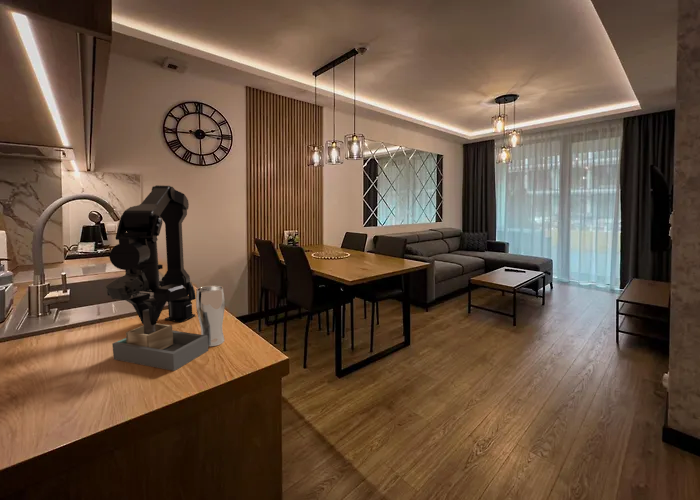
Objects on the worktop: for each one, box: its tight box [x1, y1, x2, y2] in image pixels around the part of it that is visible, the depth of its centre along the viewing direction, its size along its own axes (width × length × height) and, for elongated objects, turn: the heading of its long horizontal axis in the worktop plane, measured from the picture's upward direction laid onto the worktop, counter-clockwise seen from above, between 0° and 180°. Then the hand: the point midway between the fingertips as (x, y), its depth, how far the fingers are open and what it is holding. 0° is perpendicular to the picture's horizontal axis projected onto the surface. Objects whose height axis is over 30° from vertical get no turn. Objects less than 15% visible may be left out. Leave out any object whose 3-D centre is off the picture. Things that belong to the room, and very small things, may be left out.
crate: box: [125, 309, 174, 350], centre depth 82 cm, size 7×7×10 cm
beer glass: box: [195, 284, 226, 348], centre depth 89 cm, size 7×7×15 cm
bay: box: [112, 330, 209, 372], centre depth 82 cm, size 18×11×4 cm, turn 73°
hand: (149, 324), depth 82 cm, fingers closed on crate, 2 cm apart
